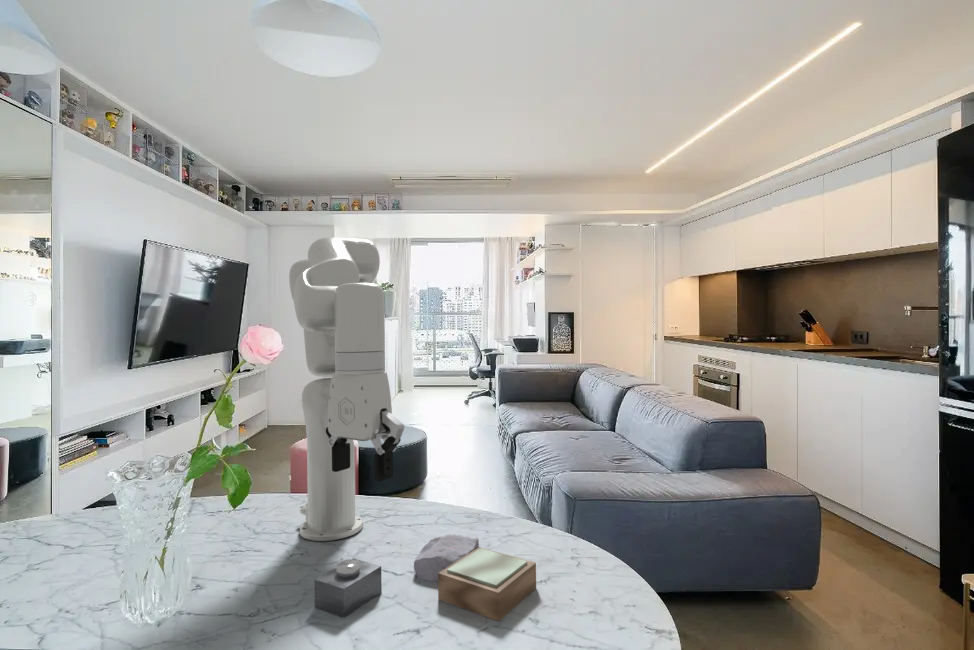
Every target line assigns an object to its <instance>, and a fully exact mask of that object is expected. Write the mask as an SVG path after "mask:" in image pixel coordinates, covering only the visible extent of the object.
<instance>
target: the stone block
mask: <svg viewBox="0 0 974 650" xmlns="http://www.w3.org/2000/svg"><path fill="white" fill-rule="evenodd" d="M479 541H480V540H479V538H478V537H469V536H464V535H461V534H457V535H456V534H448V535H443V536H438V537H434V538H432V539H430V540H429V541H428V543H427V544H425V545H424V546H423V547H422V548H421V550H420V551H419V554H417V555H416V557H415V559H414V560H413V570H414V572H415V575H416V576H417V579H422V580H426V581H438V573H439V572H440V571H442V570H444V569H445V568H447V567H448V566H450V565H452V564H453V563H455V562H456V561H458V560H460V559H461V558H463V557H464V556H466V555H468V554H469V553H471V552H472V551H474V550H476V549H477V548H479V547H480V544H479Z"/></svg>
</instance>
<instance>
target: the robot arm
mask: <svg viewBox="0 0 974 650" xmlns="http://www.w3.org/2000/svg"><path fill="white" fill-rule="evenodd" d="M308 248H309V249H308V251H307V258H306V259H301V260H298V261H296V262H295V263H293V264H292V265H291V267H290V269H289V272H288V273H289V277H288V278H289V289H290V293H291V298H292V301H293V305H294V310H295V315H296V319H297V321H298V324H299V325H300V327H301V328H303V338H304V339H303V340H304V349H305V360H306V361H305V362H306V366H307V369H308V371H309V373H310V374H311V375H313V376H315V377H319V378H317V379H314V380H312V381H309V382H308V383H307V384H306V385H304V388H303V390H302V394H301V405H302V411H303V416H304V423H305V433H306V454H307V455H306V458H307V460H306V462H307V463H306V465H307V475H306V476H307V478H306V480H307V481H306V482H307V502H306V504H305V506H304V507H300V510H299V513H300V514H302V515H304V516H305V522H303V523H302V524H301V526H300V527H299V535H300V536H301V537H302V538H304V539H305V540H308V541H309V540H310V541H313V542H315V541H316V542H328V541H337V540H341V539H345V538H348V537H351V536H353V535H356V534H357V533H358V532H360V531H361V530H362V529H363V528H364V520H363V518H362V517H361V516H359V515H356V459H355V457H356V454H355V453H356V451H355V450H356V449H355V442H354V441H359V442H368V441H371V443H372V445H373V447H374V449H375V451H376V453H375V454H374V455H373V465H374V466H373V471H374V473H373V474H374V475H373V476H374V477H373V478H374V479H373V480H374V481H375V482H377V483H378V482H382V481H385V480H388V479H391V478H393V475H394V460H393V459H394V457H393V456H394V452H396V450H397V446H398V445H399V444H400V442H401V439H402V438H401V437H402V436H403V433H404V430H405V425H404V424H403V422H402V421H400V420H399V419H397V418H396V417H395V415H393V409H392V408H393V407H392V397H391V389H390V384H389V383H390V381H389V378H388V373H387V372H386V337H385V336H386V333H385V332H386V331H385V330H386V329H385V328H386V327H385V326H386V325H385V322H386V321H385V319H386V318H385V310H386V309H385V292H384V290H383V288H382V287H381V286H380V285H379V284H376V283H374V281H375V280H376V278H377V276H378V273H379V270H380V263H381V260H380V259H381V258H380V253H379V250H378V248H377V245H375V243H374V242H372V241H370V240H368V239H364V238H348V237H336V236H335V237H333V236H332V237H331V236H327V237H321V238H319V239H316V240H315V241H313V242H312V244H311V245H310V246H309V247H308ZM381 440H383V443H382V441H381Z"/></svg>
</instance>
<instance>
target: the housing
mask: <svg viewBox="0 0 974 650" xmlns="http://www.w3.org/2000/svg"><path fill="white" fill-rule="evenodd" d="M336 564H337V565H336V567H334V568H332V569H331V570H330V571H329V570H328V572H325V573H324V574H322V575H320V576H318V577H316V578H315V579H313V580H314V608H315V609H316V610H320V611H322V612H325V613H329V614H331V615H334V616H336V617H339V618H342V619H346V618H347V617H349V616H350V615H351V614H353V613H355V612H356V611H358V610H359V609H360V608H362V607H363V606H365V605H366V604H368V603H369V602H371V601H372V600H373V599H376V598H377V597H378V596H379V595H381V594H382V591H383V590H382V565H378V564H374V563H371V562H368V561H364V560H360V559H357V558H354V557H353V558H352V559H346V560H343V561H340V562H339V563H336Z"/></svg>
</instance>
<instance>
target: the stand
mask: <svg viewBox="0 0 974 650" xmlns="http://www.w3.org/2000/svg"><path fill="white" fill-rule="evenodd" d="M536 589H537V563H536V561H535V562H534V561H532V560H528V559H524V558H520V557H516V556H512V555H510V554H509V555H508V554H505V553H501V552H499V551H494V550H491V549H487V548H483V547H480V546H479V548H477V549H476V550H474V551H472V552H471V553H469V554H468V555H466V556H464V557H463V558H461V559H460V560H458V561H456V562H455V563H453V564H452V565H450V566H448V567H447V568H445V569H444V570H442V571H440V572H439V573H438V580H437V596H438V600H439V601H442V602H445V603H448V604H449V605H450V604H451V605H453V606H455V607H459V608H461V609H464V610H466V611H469V612H472V613H475V614H477V615H480V616H483V617H486V618H489V619H491V620H494V621H496V620H497V621H496V622H501V620H502V619H503V618H504V617H506V616H507V615H508V614H510V612H511V611H512V610H514V608H516V607H517V606H518V605H519V604H520V603H521V602H523V600H525V599H526V598H527V597H528V596H530V594H531V593H533V592H534V591H535V590H536Z"/></svg>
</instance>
